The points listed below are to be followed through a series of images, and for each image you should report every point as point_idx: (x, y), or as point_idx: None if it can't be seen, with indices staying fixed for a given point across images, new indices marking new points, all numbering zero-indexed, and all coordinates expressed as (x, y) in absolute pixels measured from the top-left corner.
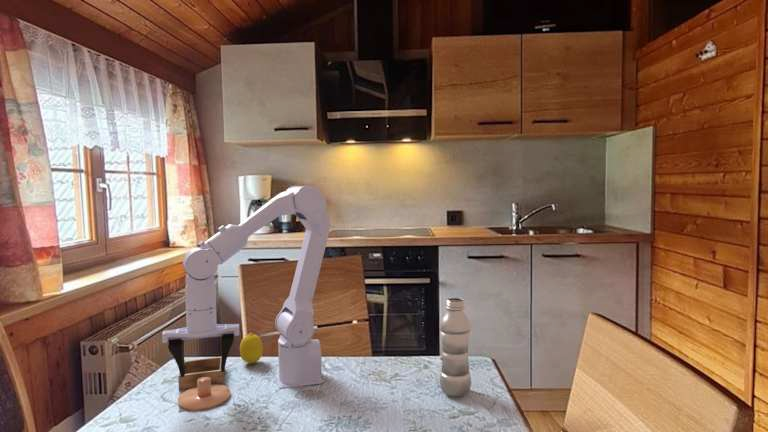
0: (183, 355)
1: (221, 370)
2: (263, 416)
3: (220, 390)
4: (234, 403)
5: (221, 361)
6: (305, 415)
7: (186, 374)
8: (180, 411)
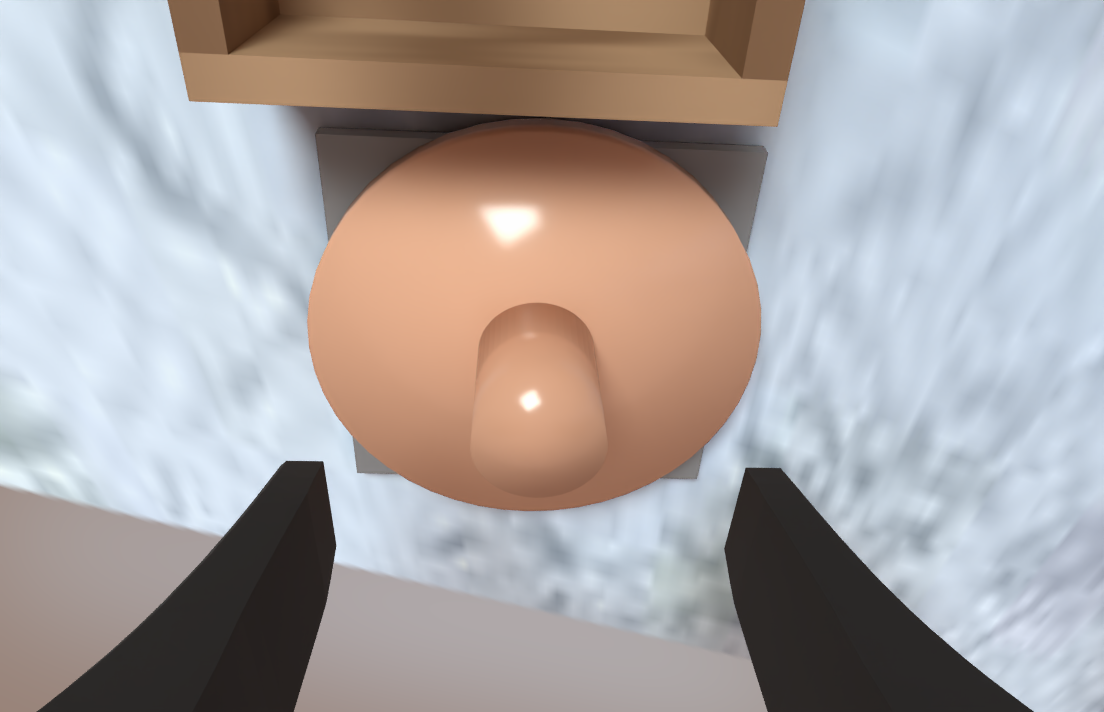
0: (245, 676)
1: (731, 570)
2: None
3: (679, 321)
4: (749, 439)
5: (760, 682)
6: (1060, 659)
7: (293, 83)
8: (370, 472)
